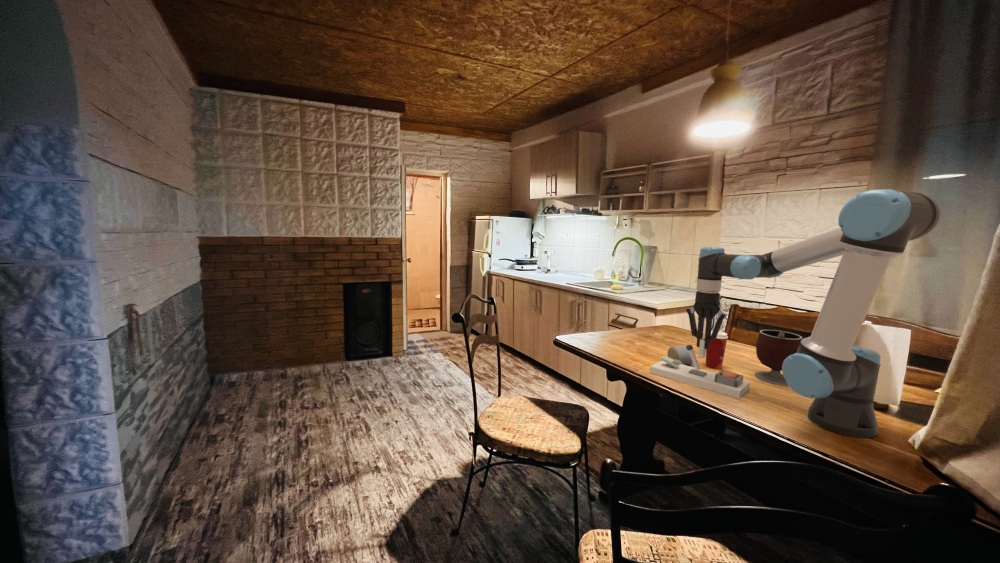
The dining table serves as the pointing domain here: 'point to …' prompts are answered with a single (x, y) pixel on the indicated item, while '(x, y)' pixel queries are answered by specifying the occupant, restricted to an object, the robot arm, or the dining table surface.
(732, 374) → the terracotta button
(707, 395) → the dining table surface
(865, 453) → the dining table surface
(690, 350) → the metal lever
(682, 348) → the ceramic mug
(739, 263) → the robot arm
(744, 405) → the dining table surface
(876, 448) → the dining table surface
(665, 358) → the green rocker
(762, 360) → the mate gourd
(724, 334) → the paper cup
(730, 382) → the panel
